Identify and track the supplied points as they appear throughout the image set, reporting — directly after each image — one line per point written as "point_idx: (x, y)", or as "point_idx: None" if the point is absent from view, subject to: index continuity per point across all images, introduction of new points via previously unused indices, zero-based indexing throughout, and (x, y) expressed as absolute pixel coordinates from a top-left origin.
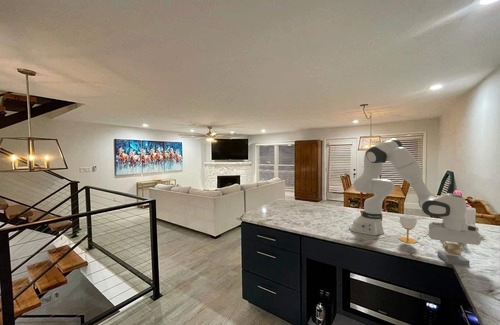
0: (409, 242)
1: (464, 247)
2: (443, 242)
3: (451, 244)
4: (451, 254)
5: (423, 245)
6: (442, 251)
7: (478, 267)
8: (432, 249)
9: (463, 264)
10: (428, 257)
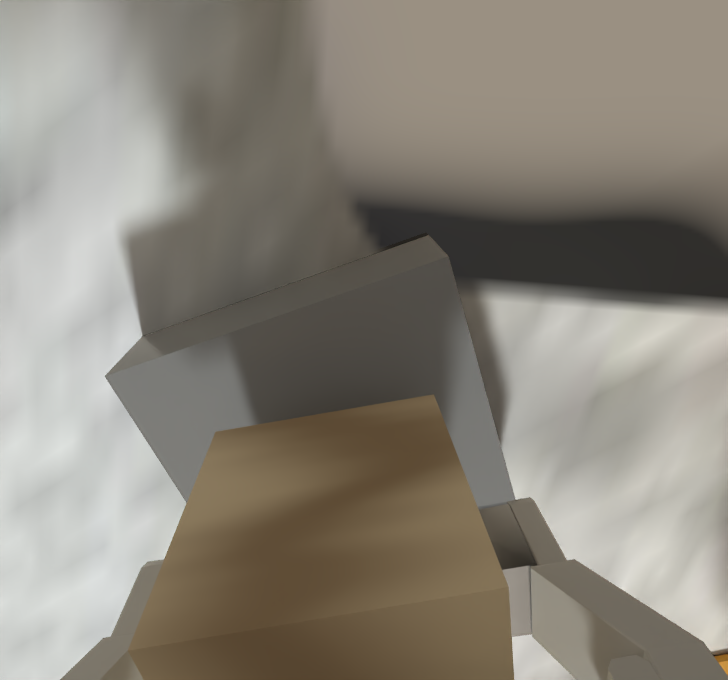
0: (723, 664)
1: (74, 668)
2: (648, 659)
3: (411, 644)
4: None
5: None
6: None
7: (30, 349)
8: None
9: (214, 314)
10: (655, 326)
